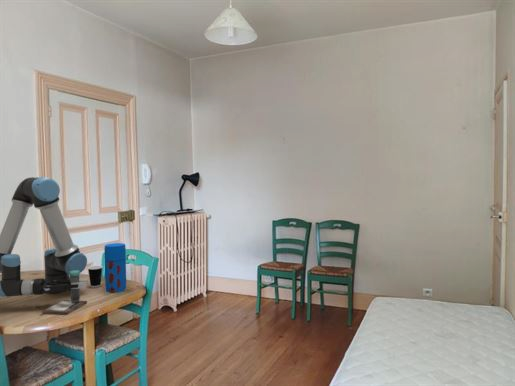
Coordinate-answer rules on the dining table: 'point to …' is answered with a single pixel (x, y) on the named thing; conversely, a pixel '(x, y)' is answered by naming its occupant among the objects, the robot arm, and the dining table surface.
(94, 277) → the dixie cup
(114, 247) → the thermos
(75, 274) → the marker
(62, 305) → the brown picture frame
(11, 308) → the dining table surface
